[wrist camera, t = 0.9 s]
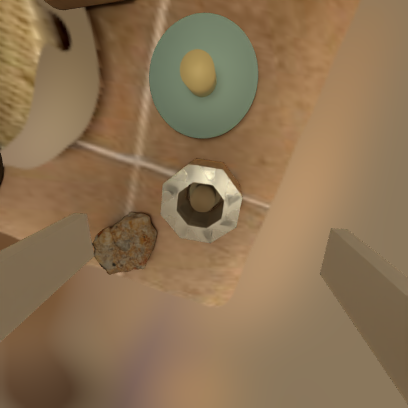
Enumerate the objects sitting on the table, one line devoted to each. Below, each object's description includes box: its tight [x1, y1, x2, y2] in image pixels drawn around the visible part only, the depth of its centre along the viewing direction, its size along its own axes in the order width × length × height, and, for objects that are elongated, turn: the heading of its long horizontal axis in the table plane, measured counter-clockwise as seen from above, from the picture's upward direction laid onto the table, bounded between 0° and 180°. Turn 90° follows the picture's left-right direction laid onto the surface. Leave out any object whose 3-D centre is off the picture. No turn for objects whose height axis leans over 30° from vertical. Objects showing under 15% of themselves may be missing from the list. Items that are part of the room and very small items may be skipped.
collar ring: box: [161, 158, 242, 243], centre depth 26 cm, size 9×9×6 cm
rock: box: [92, 212, 157, 275], centre depth 30 cm, size 9×6×10 cm
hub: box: [149, 13, 258, 138], centre depth 21 cm, size 12×12×6 cm
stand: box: [189, 182, 221, 212], centre depth 27 cm, size 4×4×4 cm
